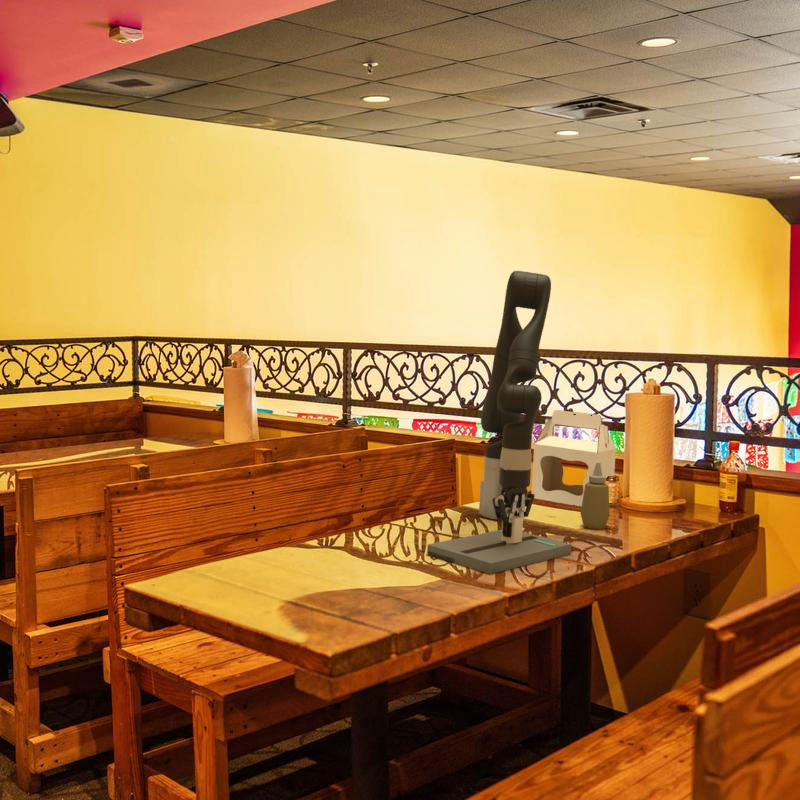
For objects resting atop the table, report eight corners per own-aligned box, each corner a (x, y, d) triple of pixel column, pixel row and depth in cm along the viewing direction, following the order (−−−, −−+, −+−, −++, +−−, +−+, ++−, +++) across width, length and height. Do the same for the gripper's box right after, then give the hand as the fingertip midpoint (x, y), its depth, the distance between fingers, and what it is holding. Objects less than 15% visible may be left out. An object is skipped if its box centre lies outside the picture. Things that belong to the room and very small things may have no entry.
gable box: (613, 503, 304) (619, 414, 301) (594, 509, 294) (600, 417, 291) (550, 492, 317) (555, 407, 315) (530, 498, 307) (535, 410, 304)
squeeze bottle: (611, 531, 266) (615, 466, 264) (582, 529, 266) (586, 464, 264) (606, 524, 274) (610, 461, 272) (577, 523, 274) (581, 460, 272)
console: (427, 554, 232) (427, 543, 232) (507, 537, 253) (508, 527, 253) (490, 574, 218) (491, 562, 218) (570, 554, 239) (571, 543, 239)
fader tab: (500, 545, 239) (502, 515, 238) (508, 543, 241) (510, 514, 240) (513, 549, 236) (515, 519, 235) (521, 547, 238) (523, 517, 237)
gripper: (521, 461, 244) (518, 529, 246) (484, 466, 234) (481, 536, 236) (545, 466, 239) (541, 535, 240) (508, 471, 229) (504, 543, 231)
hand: (511, 535), depth 238 cm, fingers closed on fader tab, 3 cm apart
